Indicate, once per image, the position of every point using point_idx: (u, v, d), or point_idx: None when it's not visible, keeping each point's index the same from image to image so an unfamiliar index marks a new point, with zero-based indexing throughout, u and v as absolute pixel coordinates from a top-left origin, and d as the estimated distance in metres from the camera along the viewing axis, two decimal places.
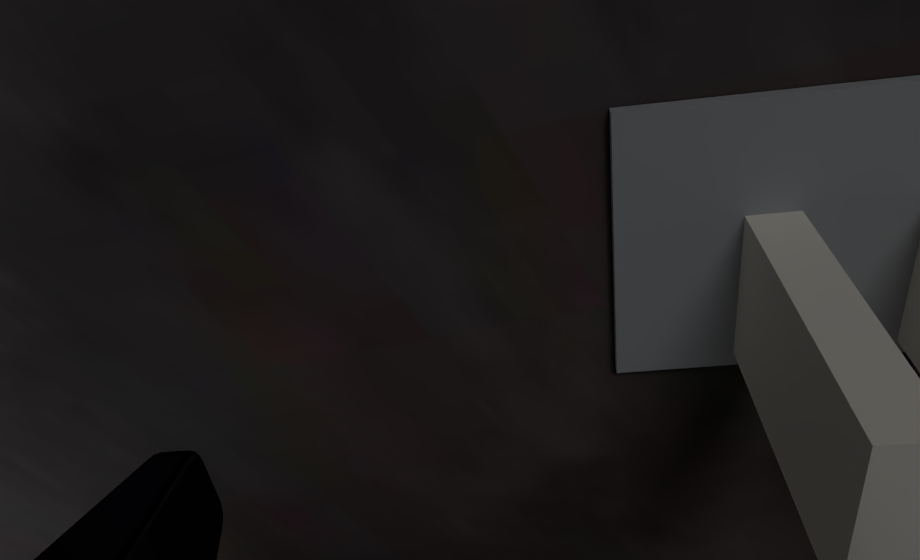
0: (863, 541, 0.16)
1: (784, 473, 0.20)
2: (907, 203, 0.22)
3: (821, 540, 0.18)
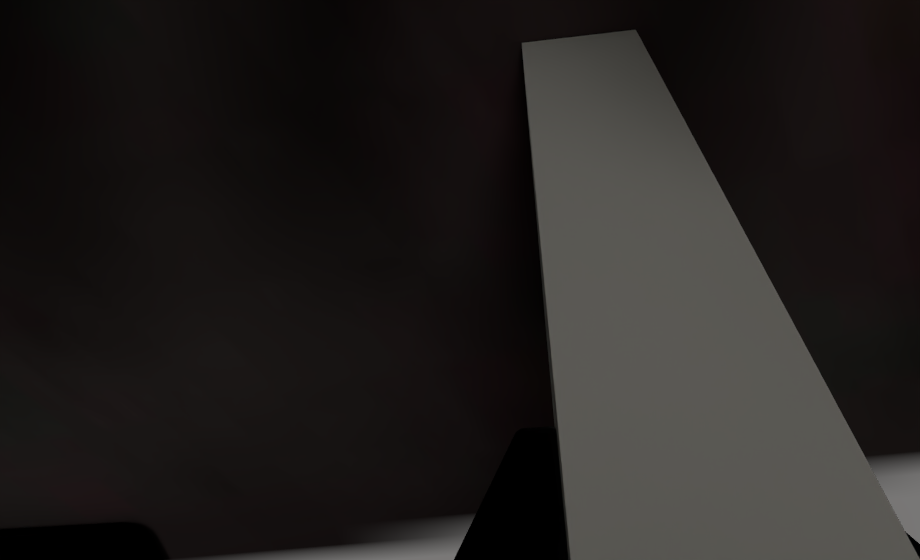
0: None
1: None
2: None
3: None
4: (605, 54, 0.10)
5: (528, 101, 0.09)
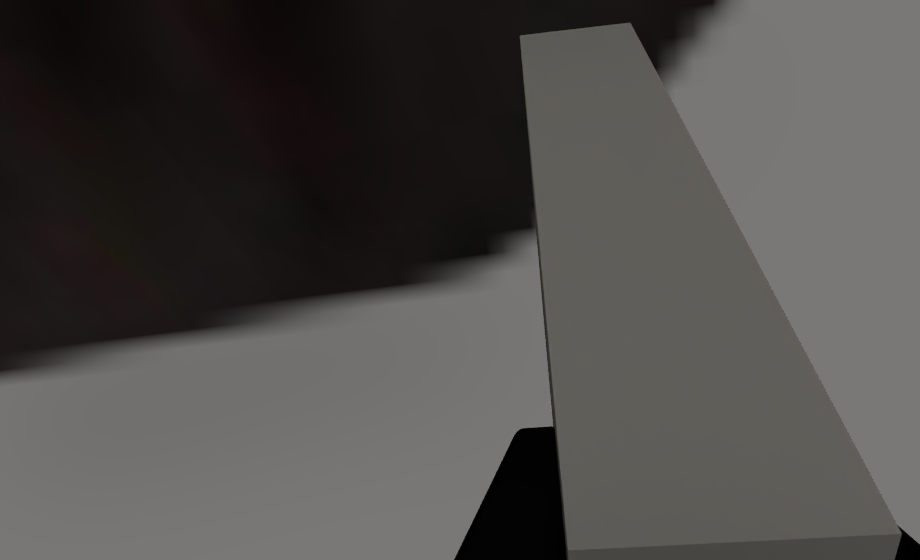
0: None
1: None
2: None
3: None
4: (600, 45, 0.11)
5: (526, 90, 0.09)
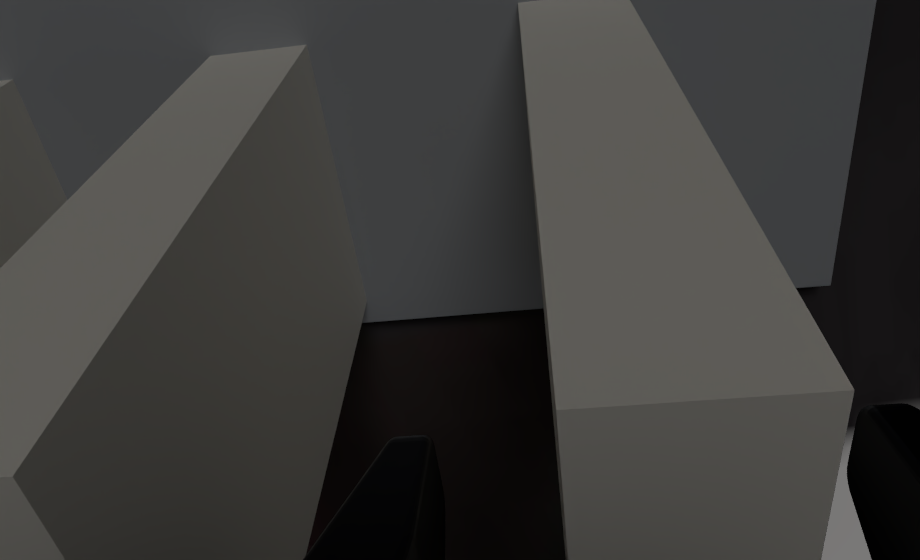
0: None
1: None
2: None
3: None
4: (595, 10, 0.11)
5: (523, 48, 0.10)
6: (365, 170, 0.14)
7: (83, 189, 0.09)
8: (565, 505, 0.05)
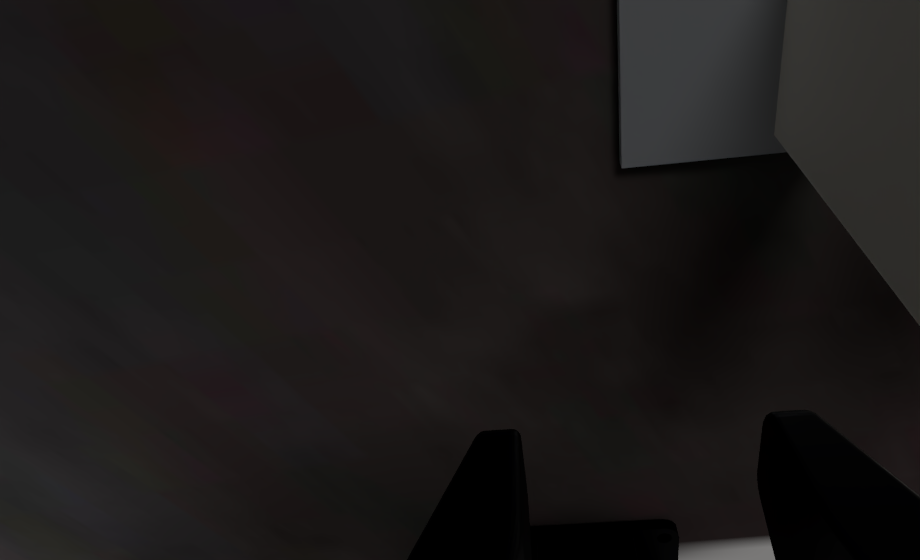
0: None
1: (857, 236, 0.15)
2: None
3: None
4: None
5: None
6: None
7: None
8: None
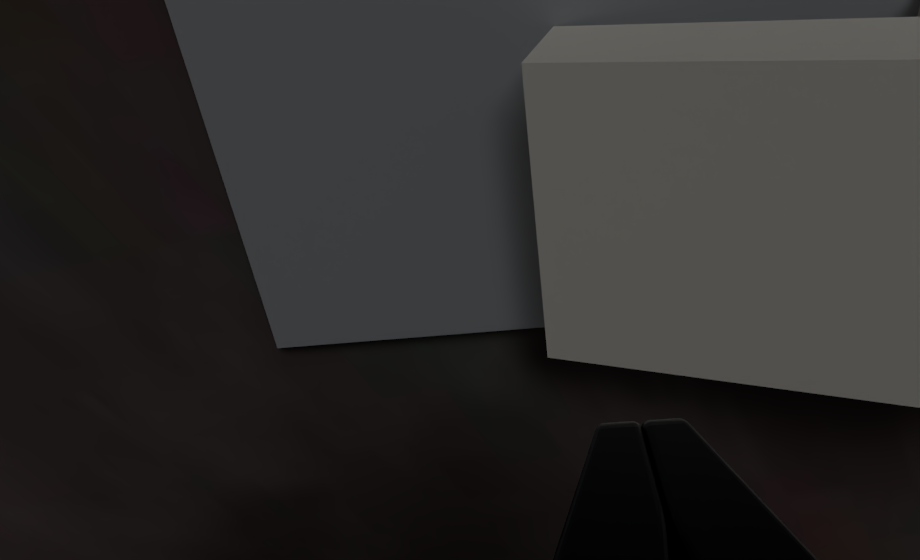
0: None
1: (906, 398, 0.11)
2: (725, 11, 0.11)
3: None
4: None
5: None
6: None
7: None
8: None
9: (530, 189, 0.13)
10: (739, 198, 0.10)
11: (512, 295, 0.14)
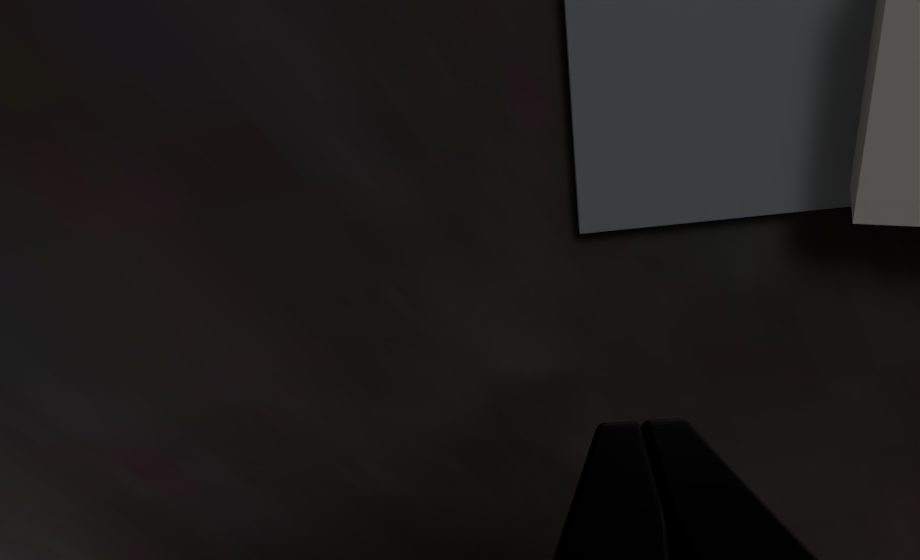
0: None
1: None
2: None
3: None
4: None
5: None
6: None
7: None
8: None
9: (835, 80, 0.15)
10: None
11: (798, 180, 0.16)
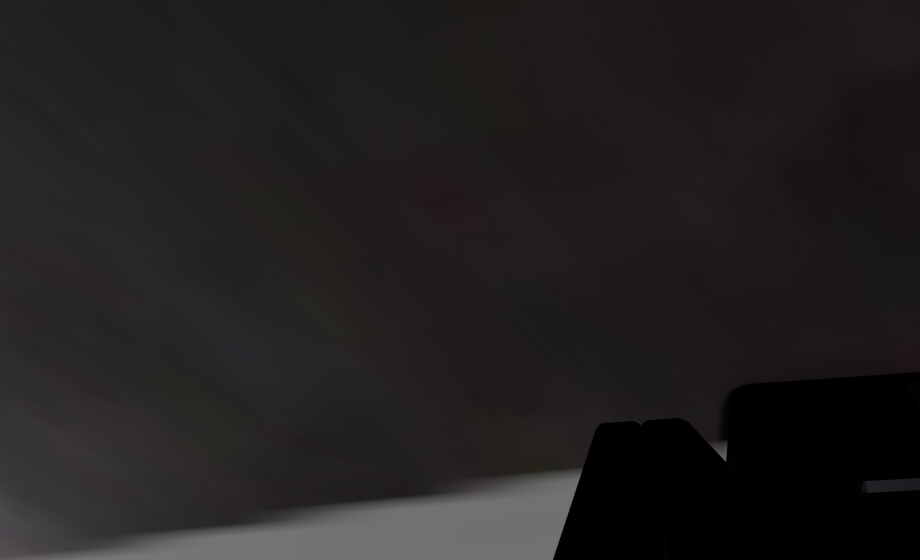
0: None
1: None
2: None
3: None
4: None
5: None
6: None
7: None
8: None
9: None
10: None
11: None
